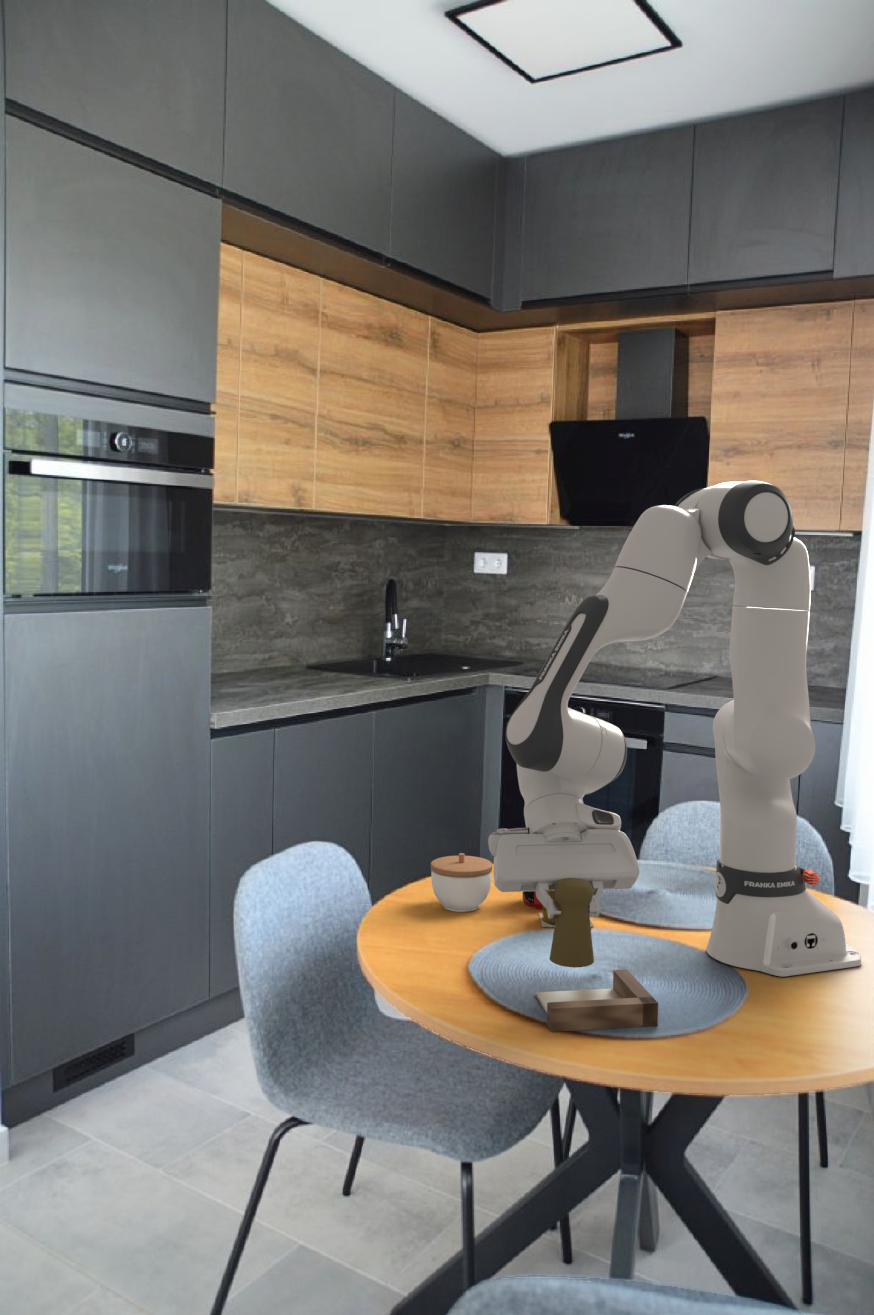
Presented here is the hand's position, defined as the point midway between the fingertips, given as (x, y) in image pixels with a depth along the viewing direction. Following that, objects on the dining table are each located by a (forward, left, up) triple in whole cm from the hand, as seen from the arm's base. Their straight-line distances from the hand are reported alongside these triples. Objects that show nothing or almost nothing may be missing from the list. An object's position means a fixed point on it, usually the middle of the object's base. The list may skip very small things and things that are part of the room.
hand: (574, 916), depth 144 cm
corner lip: (-1, +4, -11) cm, 12 cm away
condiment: (-8, -33, -12) cm, 36 cm away
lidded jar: (+8, -43, -12) cm, 45 cm away
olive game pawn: (0, -1, -6) cm, 6 cm away
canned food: (-7, -43, -12) cm, 45 cm away
